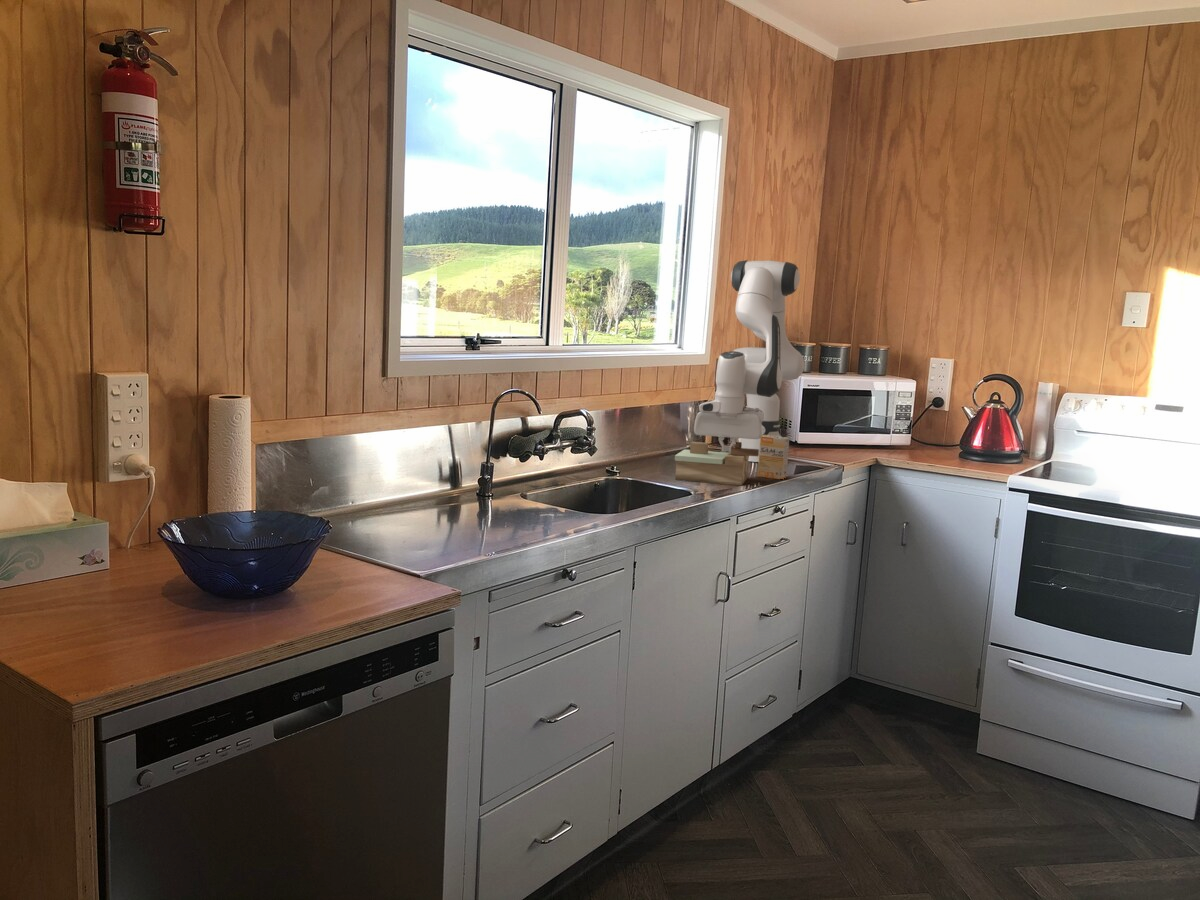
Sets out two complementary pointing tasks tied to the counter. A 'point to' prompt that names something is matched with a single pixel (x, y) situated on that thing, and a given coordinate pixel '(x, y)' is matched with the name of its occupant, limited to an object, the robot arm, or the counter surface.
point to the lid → (700, 454)
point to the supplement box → (773, 457)
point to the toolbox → (715, 471)
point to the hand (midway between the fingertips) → (726, 451)
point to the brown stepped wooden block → (743, 450)
